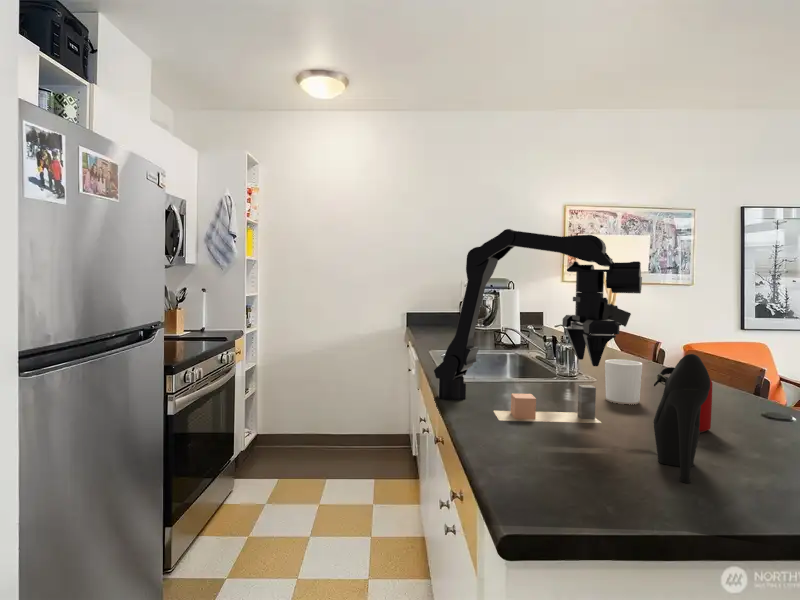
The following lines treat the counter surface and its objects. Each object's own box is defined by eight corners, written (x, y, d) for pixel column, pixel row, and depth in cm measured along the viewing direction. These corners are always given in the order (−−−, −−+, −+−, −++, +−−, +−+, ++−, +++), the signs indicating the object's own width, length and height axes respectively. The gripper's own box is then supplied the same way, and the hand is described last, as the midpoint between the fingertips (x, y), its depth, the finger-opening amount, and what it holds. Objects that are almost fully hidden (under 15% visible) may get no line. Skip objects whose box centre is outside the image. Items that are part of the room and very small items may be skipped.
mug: (649, 404, 125) (650, 364, 125) (620, 406, 123) (621, 365, 122) (618, 394, 136) (619, 357, 136) (591, 396, 133) (592, 358, 133)
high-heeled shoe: (688, 450, 90) (693, 343, 90) (718, 492, 72) (724, 358, 72) (641, 445, 93) (645, 341, 92) (658, 484, 75) (663, 354, 74)
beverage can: (708, 427, 106) (710, 372, 105) (713, 435, 100) (715, 377, 99) (672, 422, 109) (674, 369, 108) (675, 430, 103) (677, 374, 102)
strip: (498, 424, 106) (499, 388, 105) (493, 413, 114) (493, 380, 113) (601, 426, 105) (603, 390, 105) (588, 416, 113) (589, 382, 113)
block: (514, 418, 107) (515, 398, 107) (510, 412, 112) (511, 393, 111) (535, 418, 107) (536, 398, 107) (530, 413, 111) (531, 393, 111)
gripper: (646, 294, 99) (644, 370, 99) (609, 292, 117) (607, 356, 118) (590, 293, 99) (588, 369, 99) (562, 291, 118) (560, 356, 118)
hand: (587, 362), depth 109 cm, fingers open, 9 cm apart
